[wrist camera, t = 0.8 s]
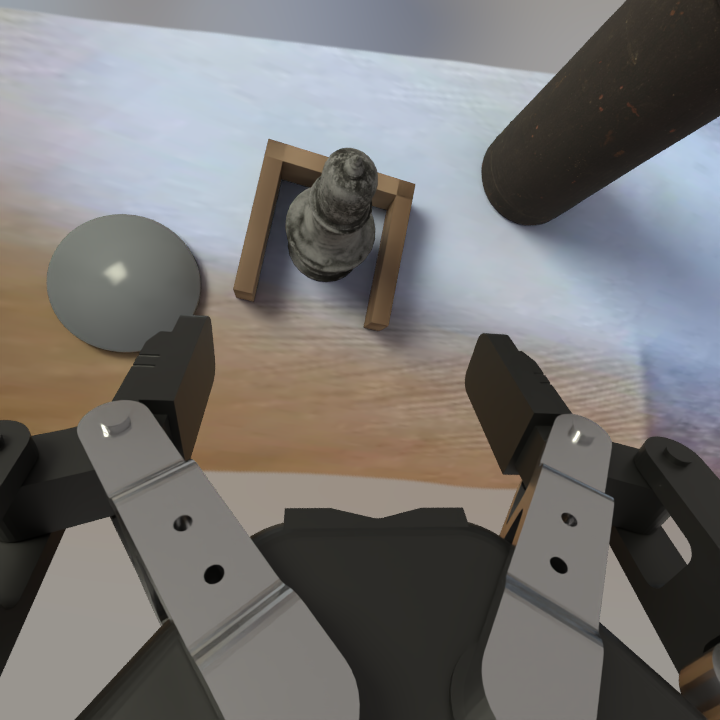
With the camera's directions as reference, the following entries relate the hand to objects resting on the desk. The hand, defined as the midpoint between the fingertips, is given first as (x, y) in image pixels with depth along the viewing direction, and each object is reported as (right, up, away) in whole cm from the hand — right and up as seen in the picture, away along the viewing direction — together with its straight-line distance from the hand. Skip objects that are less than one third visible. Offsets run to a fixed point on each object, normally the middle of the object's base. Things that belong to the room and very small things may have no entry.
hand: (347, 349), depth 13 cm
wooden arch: (-2, +8, +18) cm, 20 cm away
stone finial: (-2, +8, +18) cm, 20 cm away
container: (+14, +15, +22) cm, 30 cm away
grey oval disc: (-15, +5, +15) cm, 22 cm away
